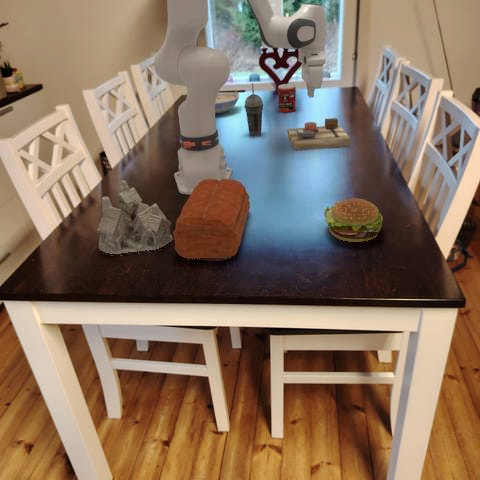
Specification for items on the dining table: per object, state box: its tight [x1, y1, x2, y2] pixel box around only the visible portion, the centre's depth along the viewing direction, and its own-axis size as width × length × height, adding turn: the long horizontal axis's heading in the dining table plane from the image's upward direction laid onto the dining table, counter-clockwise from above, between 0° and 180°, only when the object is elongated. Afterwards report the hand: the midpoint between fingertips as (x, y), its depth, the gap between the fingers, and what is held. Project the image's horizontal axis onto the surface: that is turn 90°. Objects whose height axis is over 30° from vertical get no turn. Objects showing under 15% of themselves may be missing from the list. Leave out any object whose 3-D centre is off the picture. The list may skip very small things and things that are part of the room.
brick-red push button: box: [304, 121, 318, 132], centre depth 173 cm, size 4×4×2 cm
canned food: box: [277, 83, 297, 114], centre depth 207 cm, size 8×8×11 cm
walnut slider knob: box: [324, 117, 339, 128], centre depth 173 cm, size 2×4×3 cm, turn 93°
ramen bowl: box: [215, 89, 246, 115], centre depth 214 cm, size 25×23×8 cm
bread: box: [172, 178, 251, 259], centre depth 115 cm, size 16×27×11 cm, turn 172°
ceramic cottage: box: [96, 180, 174, 254], centre depth 112 cm, size 16×16×15 cm
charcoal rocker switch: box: [296, 130, 315, 137], centre depth 166 cm, size 4×6×1 cm, turn 93°
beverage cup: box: [244, 82, 264, 138], centre depth 178 cm, size 7×7×20 cm
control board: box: [286, 124, 351, 152], centre depth 171 cm, size 16×20×4 cm
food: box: [323, 197, 383, 243], centre depth 112 cm, size 14×14×8 cm
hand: (310, 96), depth 167 cm, fingers closed
